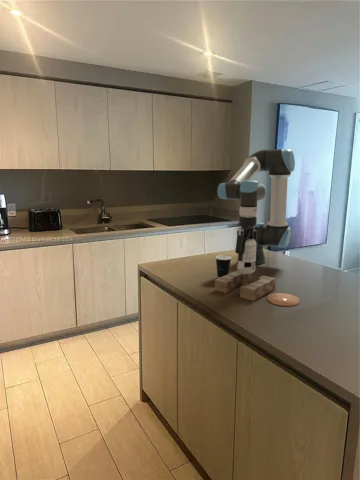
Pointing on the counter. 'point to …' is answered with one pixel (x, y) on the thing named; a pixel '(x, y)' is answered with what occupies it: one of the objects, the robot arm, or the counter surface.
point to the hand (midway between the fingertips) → (246, 265)
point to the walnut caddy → (245, 285)
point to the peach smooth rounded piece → (283, 299)
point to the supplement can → (248, 257)
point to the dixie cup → (222, 265)
